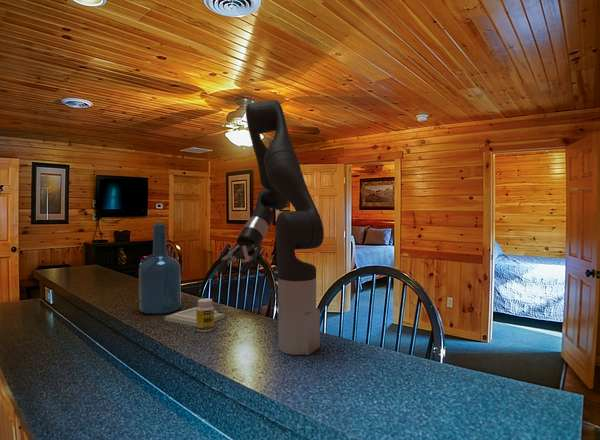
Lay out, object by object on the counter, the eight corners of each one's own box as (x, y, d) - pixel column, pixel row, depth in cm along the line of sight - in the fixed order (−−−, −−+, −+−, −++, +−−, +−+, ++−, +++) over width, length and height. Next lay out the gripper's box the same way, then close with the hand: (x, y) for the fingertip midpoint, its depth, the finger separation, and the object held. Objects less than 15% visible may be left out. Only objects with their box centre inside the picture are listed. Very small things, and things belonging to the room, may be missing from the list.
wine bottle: (163, 303, 139) (162, 220, 138) (189, 308, 132) (188, 220, 131) (129, 312, 127) (127, 221, 126) (156, 318, 120) (154, 221, 119)
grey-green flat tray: (224, 317, 120) (224, 311, 120) (198, 327, 110) (198, 320, 110) (191, 312, 127) (191, 305, 127) (164, 320, 117) (164, 313, 117)
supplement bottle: (203, 333, 105) (203, 302, 105) (193, 330, 108) (192, 300, 108) (217, 329, 109) (217, 299, 109) (206, 325, 112) (206, 297, 112)
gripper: (231, 225, 128) (207, 264, 119) (266, 226, 121) (243, 267, 112) (241, 240, 133) (219, 278, 124) (275, 241, 126) (254, 282, 117)
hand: (230, 273), depth 118 cm, fingers open, 8 cm apart
